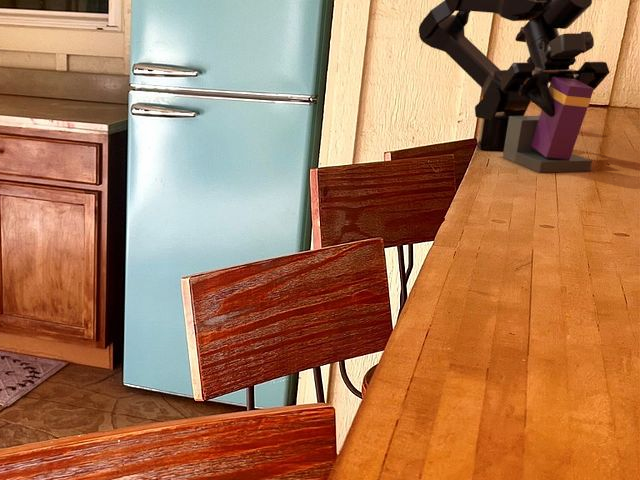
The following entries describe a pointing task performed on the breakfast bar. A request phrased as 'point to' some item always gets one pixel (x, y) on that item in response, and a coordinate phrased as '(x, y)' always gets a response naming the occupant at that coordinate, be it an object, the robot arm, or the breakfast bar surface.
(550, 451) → the breakfast bar surface
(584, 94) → the chocolate box
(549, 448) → the breakfast bar surface
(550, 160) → the grey l-shaped stand
